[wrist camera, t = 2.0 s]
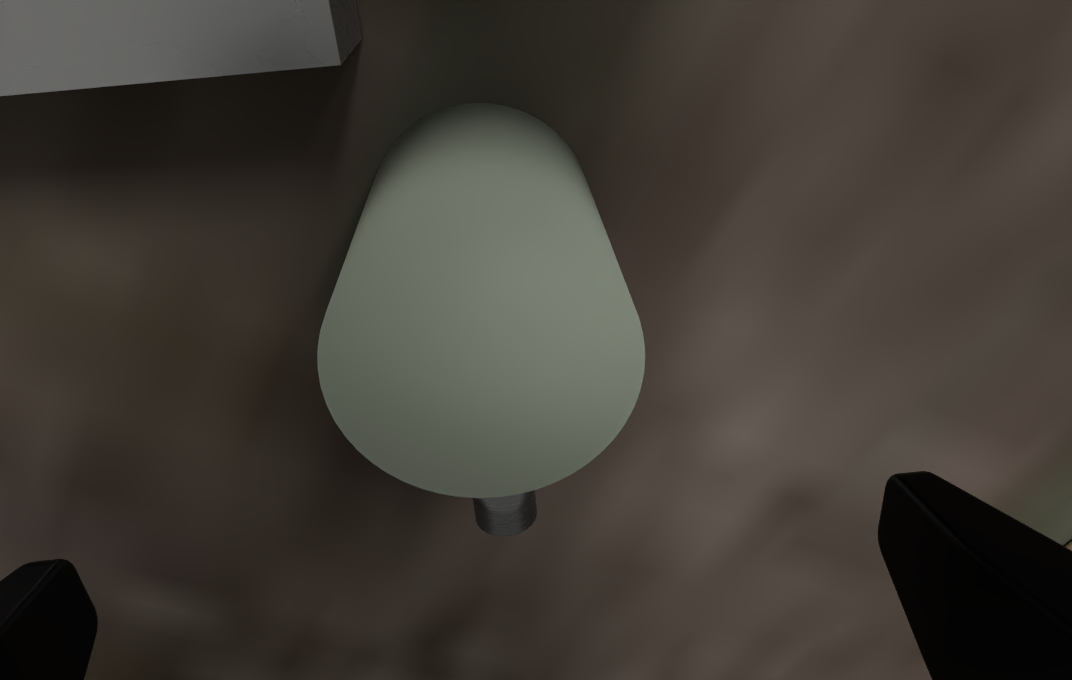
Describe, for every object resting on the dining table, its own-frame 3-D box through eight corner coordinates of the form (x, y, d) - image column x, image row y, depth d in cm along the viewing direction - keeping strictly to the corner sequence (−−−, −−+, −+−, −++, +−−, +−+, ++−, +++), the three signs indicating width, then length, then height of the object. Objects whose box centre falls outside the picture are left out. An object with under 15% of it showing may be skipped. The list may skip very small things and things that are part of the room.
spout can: (584, 92, 17) (643, 200, 11) (596, 359, 21) (647, 556, 14) (352, 113, 17) (283, 234, 11) (401, 379, 20) (368, 585, 14)
